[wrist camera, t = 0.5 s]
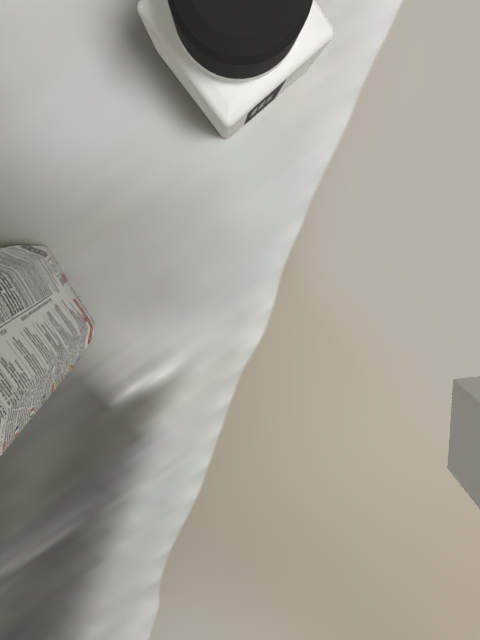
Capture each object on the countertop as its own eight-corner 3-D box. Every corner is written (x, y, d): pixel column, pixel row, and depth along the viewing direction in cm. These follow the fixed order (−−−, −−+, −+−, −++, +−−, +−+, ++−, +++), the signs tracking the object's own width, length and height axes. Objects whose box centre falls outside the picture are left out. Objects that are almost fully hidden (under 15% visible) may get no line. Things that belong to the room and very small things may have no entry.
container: (310, 68, 31) (369, -10, 19) (225, 142, 33) (228, 115, 20) (241, -35, 29) (256, -197, 17) (153, 47, 31) (107, -47, 18)
